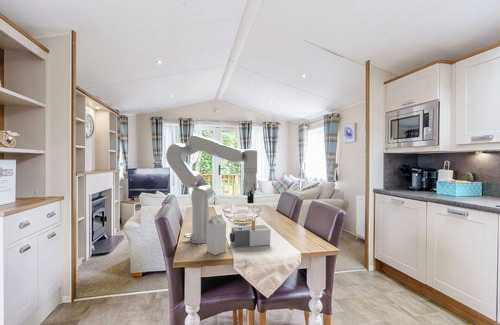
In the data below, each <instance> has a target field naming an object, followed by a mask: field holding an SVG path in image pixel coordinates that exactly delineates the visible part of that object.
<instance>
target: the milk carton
mask: <svg viewBox="0 0 500 325" xmlns="http://www.w3.org/2000/svg"><path fill="white" fill-rule="evenodd" d="M226 238H227V223H226V221H225V219H224V217H223V213H221V214H217V215H212V216H211V215H210V218H209V221H208V222H207V242H206V252H208V253H210V254H212V255H213V256H216V255H219V254H223V253H226V252H227V248H226V247H227V239H226Z"/></svg>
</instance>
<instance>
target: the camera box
mask: <svg viewBox="0 0 500 325" xmlns="http://www.w3.org/2000/svg"><path fill="white" fill-rule="evenodd" d="M258 229H271V228H270V227H268V226H267V225H265V224H259V225H256V224H255V230H258ZM250 230H252V225H246V226H233V227H231V230H230V231H231V232H230V233H229V242H230V243H231V245H232V246H233V247H234V248H235V249H236V248H244V247H245V248H246V247H250V246H249V233H250Z"/></svg>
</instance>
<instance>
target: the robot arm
mask: <svg viewBox="0 0 500 325" xmlns="http://www.w3.org/2000/svg"><path fill="white" fill-rule="evenodd" d="M198 152H202V153H205V154H208V155H211V156H214V157H217V158H220V159H223V160H226V161H229V162H231V163H241V162H243V174H244V175H243V177H244V178H243V190H244V191H246V193H247V194H246V196H247V200H246V202H247V204H254V203H255V202H254V200H255V199H254V197H255V194H256V193H255V192H256V191H257V189H258V188H257V187H258V183H257V182H258V181H257V174H258V151H257V149H253V148H246V149H241V148H235V147H233V146H229V145H225V144H223V143H221V142H219V141H218V140H214V139H211V138H208V137H204V136H202V135H199V134H192V135H191V136H189V138H188V140H187V141H185V142H184V143H182V142H181V143H180V142H178V143H177V142H176V143H172V144H170V145H169V146H168V148H167V150H166V154H165V155H166V156H165V158H166V161H167V164H168V165H169V167H170V168H171V169H172V171H173V172H174V173H175V174H176V176H177V177H178V179H179V180H180V182H181V183H182V184H183V185H184V187H186V188H192V192H191V196H190V197H191V198H190V199H191V205H192V206H191V208H192V212H191V213H192V214H191V215H192V222H191V223H192V226H191V227H192V229H191V232H190V233H184V234H183V238H184V239H189V242H190V243H193V244H205V243H206V244H207V222H208V221H209V220H210V207H209V206H210V205H209V200H210V199H211V198H212V196H213V192H214V191H213V188H212V186H211V185H210V184H209V182H208V181H207V180H206V178H205V177H204V175H202V174H201V172H199V171H197V170H192V169H191V167H190V166H189V165H188V163H187V162H186V161H185V160H184V159H183V158H187V157H190V156H191V155H193V154H196V153H198Z"/></svg>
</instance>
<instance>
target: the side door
mask: <svg viewBox="0 0 500 325" xmlns="http://www.w3.org/2000/svg"><path fill="white" fill-rule="evenodd" d="M251 226H252V230H250V233H249V246H248V247H250V248H251V247H258V246H269V245H271V228H270V229H258V230H255V226H256V219H252V220H251Z"/></svg>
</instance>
